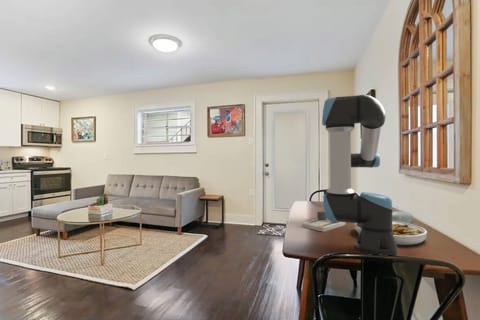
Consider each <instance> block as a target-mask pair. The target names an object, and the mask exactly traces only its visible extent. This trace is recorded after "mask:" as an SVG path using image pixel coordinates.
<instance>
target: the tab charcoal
mask: <svg viewBox="0 0 480 320" xmlns="http://www.w3.org/2000/svg"><path fill="white" fill-rule="evenodd" d="M316 213H317V214H316V215H317V219H321V220H324V219H327V218H326V215H325V211H324V210H321V211H318V212H316Z"/></svg>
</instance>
